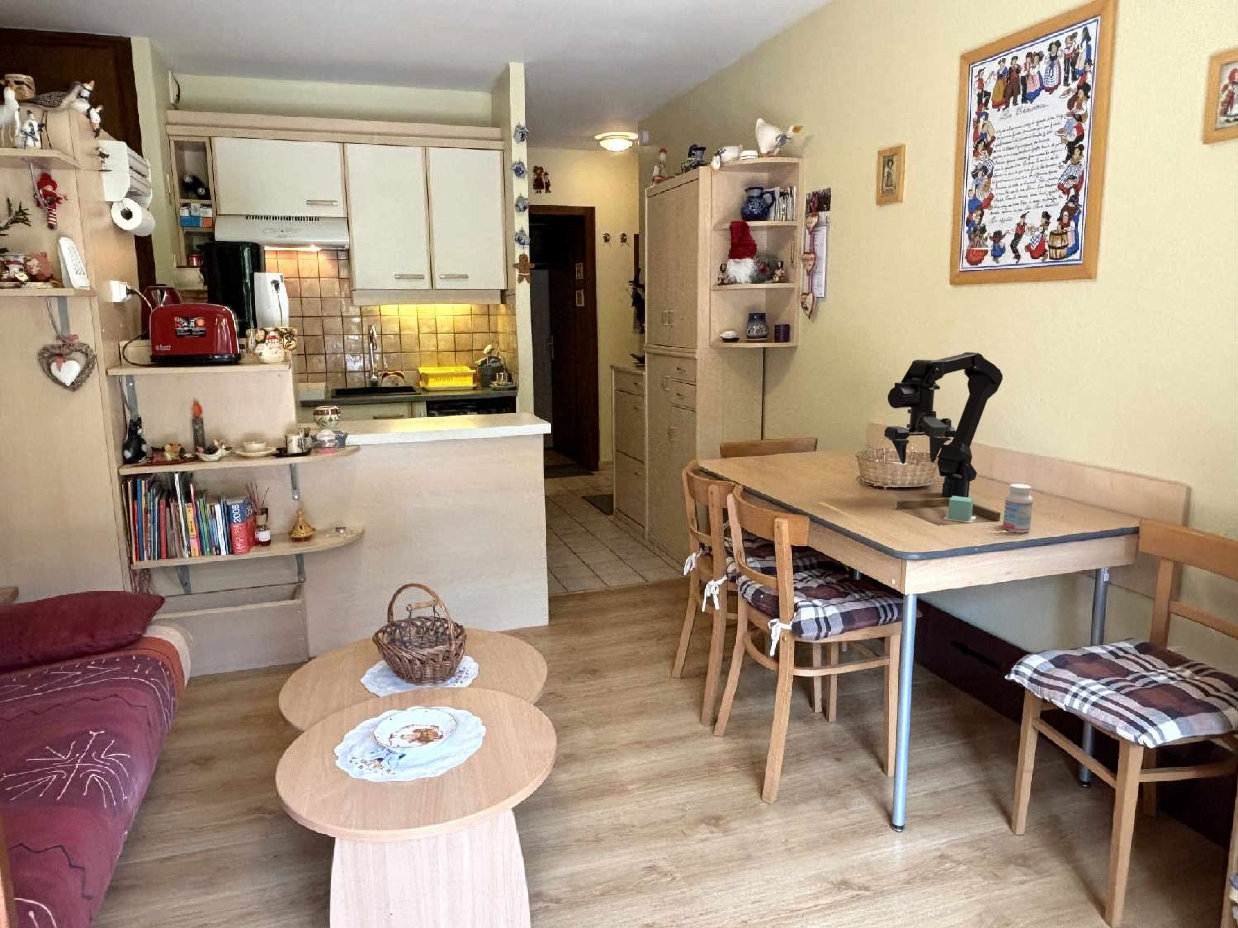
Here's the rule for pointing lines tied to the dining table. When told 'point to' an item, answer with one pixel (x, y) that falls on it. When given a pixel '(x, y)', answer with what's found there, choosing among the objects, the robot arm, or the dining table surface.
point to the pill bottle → (1018, 509)
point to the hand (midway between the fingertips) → (917, 463)
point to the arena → (944, 511)
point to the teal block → (960, 508)
